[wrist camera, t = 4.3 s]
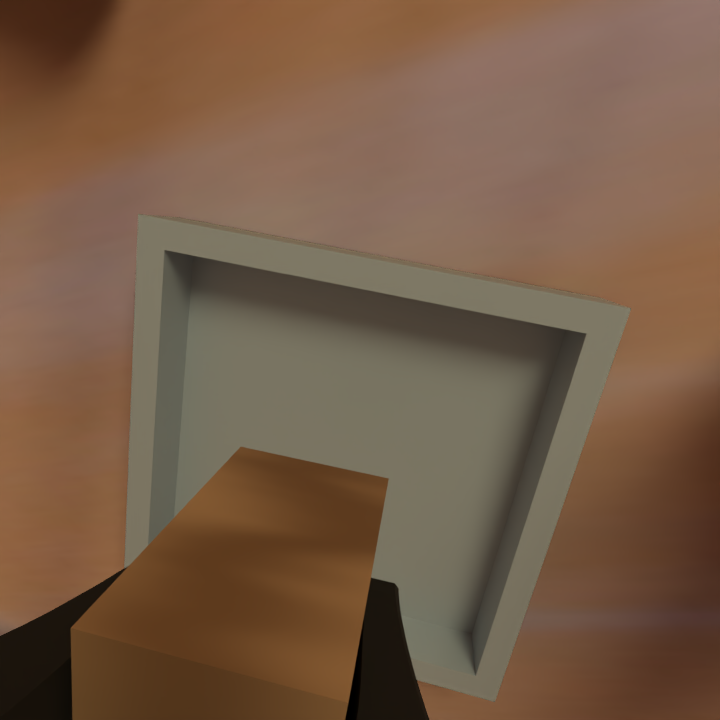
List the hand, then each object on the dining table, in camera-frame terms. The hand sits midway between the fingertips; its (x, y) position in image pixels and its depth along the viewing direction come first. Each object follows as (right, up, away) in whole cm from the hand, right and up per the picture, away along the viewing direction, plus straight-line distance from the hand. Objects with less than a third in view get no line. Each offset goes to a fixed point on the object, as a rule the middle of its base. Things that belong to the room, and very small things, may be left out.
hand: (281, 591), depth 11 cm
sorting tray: (+1, +2, +8) cm, 9 cm away
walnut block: (0, +1, +2) cm, 2 cm away
